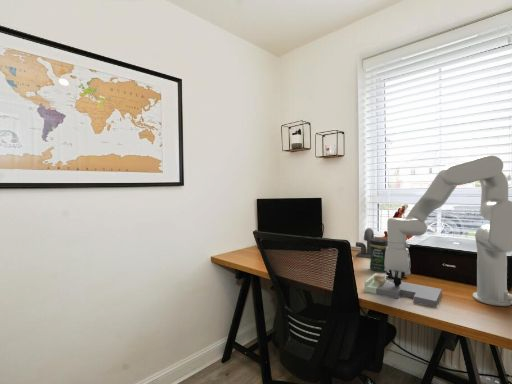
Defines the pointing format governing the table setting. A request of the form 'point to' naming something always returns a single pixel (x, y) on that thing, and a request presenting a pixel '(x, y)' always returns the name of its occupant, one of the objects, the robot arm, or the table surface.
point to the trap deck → (405, 291)
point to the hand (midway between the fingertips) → (397, 285)
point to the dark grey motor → (391, 275)
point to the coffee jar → (378, 254)
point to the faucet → (367, 237)
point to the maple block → (379, 279)
